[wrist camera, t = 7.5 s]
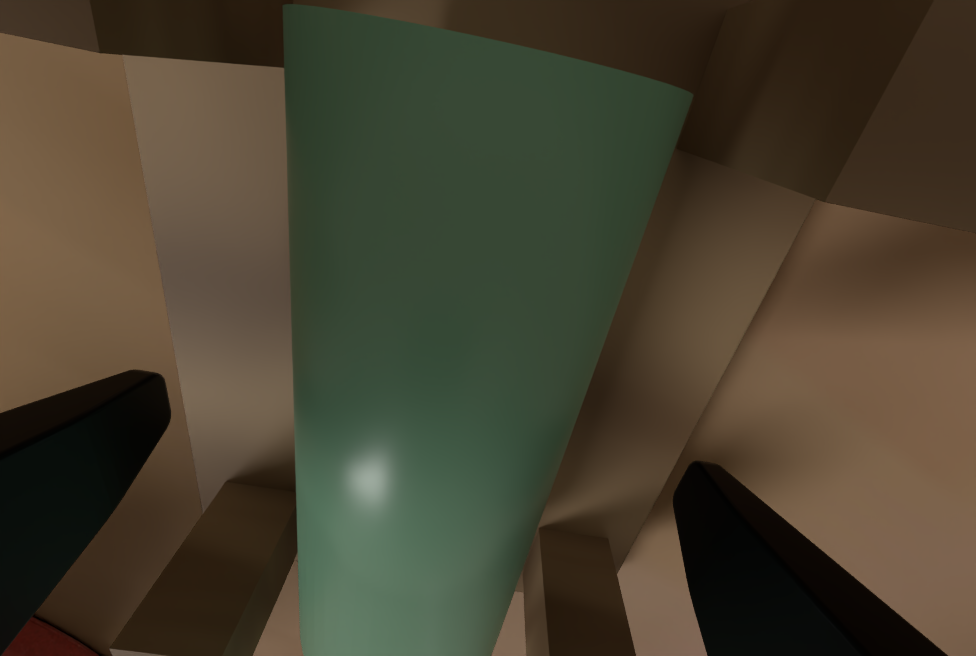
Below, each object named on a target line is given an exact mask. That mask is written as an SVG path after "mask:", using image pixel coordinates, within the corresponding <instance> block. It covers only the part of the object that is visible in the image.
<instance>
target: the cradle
mask: <svg viewBox="0 0 976 656" xmlns="http://www.w3.org/2000/svg"><path fill="white" fill-rule="evenodd" d="M285 4H298V5H308V6H317V7H324V8H331V9H338V10H344V11H350V12H356V13H362V14H368V15H373V16H379V17H384V18H390V19H395V20H401V21H406V22H411V23H416V24H421V25H426V26H431V27H436V28H441V29H446V30H451V31H455V32H460V33H465V34H470V35H475V36H479V37H484V38H488V39H493V40H497V41H502V42H506V43H511V44H515V45H520V46H524V47H528V48H533V49H537V50H541V51H546V52H550V53H554V54H558V55H562V56H567V57H571V58H575V59H579V60H583V61H587V62H591V63H595V64H599V65H603V66H606V67H610V68H614V69H618V70H622V71H625V72H629V73H633V74H636V75H640V76H643V77H647V78H650V79H654V80H657V81H660V82H664V83H667V84H670V85H673V86H675V87H678V88H681V89H684V90H686V91H688V92H690V93H692V94H693V99H692V102H691V104H690V107H689V110H688V113H687V115H686V118H685V121H684V124H683V126H682V129H681V132H680V135H679V138H678V140H677V143H676V146H675V149H674V151H673V154H672V157H671V160H670V162H669V165H668V168H667V171H666V173H665V176H664V179H663V182H662V185H661V187H660V190H659V193H658V196H657V198H656V201H655V204H654V207H653V209H652V212H651V215H650V218H649V221H648V223H647V226H646V229H645V232H644V234H643V237H642V240H641V243H640V245H639V248H638V251H637V254H636V257H635V259H634V262H633V265H632V268H631V270H630V273H629V276H628V279H627V281H626V284H625V287H624V290H623V293H622V295H621V298H620V301H619V304H618V306H617V309H616V312H615V315H614V317H613V320H612V323H611V326H610V328H609V331H608V334H607V337H606V340H605V342H604V345H603V348H602V351H601V353H600V356H599V359H598V362H597V364H596V367H595V370H594V373H593V376H592V378H591V381H590V384H589V387H588V389H587V392H586V395H585V398H584V400H583V403H582V406H581V409H580V412H579V414H578V417H577V420H576V423H575V425H574V428H573V431H572V434H571V436H570V439H569V442H568V445H567V448H566V450H565V453H564V456H563V459H562V461H561V464H560V467H559V470H558V472H557V475H556V478H555V481H554V483H553V486H552V489H551V492H550V495H549V497H548V500H547V503H546V506H545V508H544V511H543V514H542V517H541V519H540V522H539V525H538V528H537V531H536V533H535V536H534V539H533V542H532V544H531V547H530V550H529V553H528V555H527V558H526V561H525V564H524V567H523V569H522V572H521V575H520V578H519V580H518V583H517V586H516V589H515V591H517V592H524V612H525V635H526V656H636V654H635V649H634V645H633V641H632V637H631V632H630V628H629V624H628V620H627V615H626V611H625V607H624V603H623V599H622V594H621V590H620V586H619V582H618V577H617V573H618V571H619V570H620V568H621V566H622V564H623V562H624V560H625V558H626V556H627V554H628V553H629V551H630V549H631V547H632V545H633V543H634V541H635V539H636V537H637V536H638V534H639V532H640V530H641V528H642V526H643V524H644V522H645V521H646V519H647V517H648V515H649V513H650V511H651V509H652V507H653V505H654V504H655V502H656V500H657V498H658V496H659V494H660V492H661V490H662V488H663V487H664V485H665V483H666V481H667V479H668V477H669V475H670V473H671V472H672V470H673V468H674V466H675V464H676V462H677V460H678V458H679V456H680V455H681V453H682V451H683V449H684V447H685V445H686V443H687V441H688V439H689V438H690V436H691V434H692V432H693V430H694V428H695V426H696V424H697V423H698V421H699V419H700V417H701V415H702V413H703V411H704V409H705V407H706V406H707V404H708V402H709V400H710V398H711V396H712V394H713V392H714V391H715V389H716V387H717V385H718V383H719V381H720V379H721V377H722V375H723V374H724V372H725V370H726V368H727V366H728V364H729V362H730V360H731V358H732V357H733V355H734V353H735V351H736V349H737V347H738V345H739V343H740V342H741V340H742V338H743V336H744V334H745V332H746V330H747V328H748V326H749V325H750V323H751V321H752V319H753V317H754V315H755V313H756V311H757V309H758V308H759V306H760V304H761V302H762V300H763V298H764V296H765V294H766V293H767V291H768V289H769V287H770V285H771V283H772V281H773V279H774V277H775V276H776V274H777V272H778V270H779V268H780V266H781V264H782V262H783V260H784V259H785V257H786V255H787V253H788V251H789V249H790V247H791V245H792V244H793V242H794V240H795V238H796V236H797V234H798V232H799V230H800V228H801V227H802V225H803V223H804V221H805V219H806V217H807V215H808V213H809V212H810V210H811V208H812V206H813V204H814V202H815V200H816V199H817V200H820V201H823V202H827V203H831V204H836V205H841V206H846V207H851V208H856V209H861V210H866V211H870V212H875V213H880V214H885V215H890V216H895V217H900V218H904V219H909V220H914V221H919V222H924V223H929V224H934V225H938V226H943V227H948V228H953V229H958V230H963V231H968V232H972V233H976V0H0V33H5V34H10V35H15V36H20V37H25V38H29V39H34V40H39V41H44V42H49V43H54V44H59V45H63V46H68V47H73V48H78V49H83V50H88V51H93V52H97V53H106V54H119V55H122V56H123V61H124V67H125V73H126V79H127V84H128V90H129V96H130V101H131V107H132V113H133V118H134V124H135V130H136V136H137V141H138V147H139V153H140V158H141V164H142V170H143V175H144V181H145V187H146V193H147V198H148V204H149V210H150V215H151V221H152V227H153V232H154V238H155V244H156V250H157V255H158V261H159V267H160V272H161V278H162V284H163V289H164V295H165V301H166V307H167V312H168V318H169V324H170V329H171V335H172V341H173V346H174V352H175V358H176V364H177V369H178V375H179V381H180V386H181V392H182V398H183V403H184V409H185V415H186V421H187V426H188V432H189V438H190V443H191V449H192V455H193V460H194V466H195V472H196V478H197V483H198V489H199V495H200V500H201V506H202V512H203V515H202V516H201V518H200V519H199V520H198V522H197V523H196V525H195V526H194V528H193V529H192V530H191V532H190V533H189V535H188V536H187V538H186V539H185V541H184V542H183V543H182V545H181V546H180V548H179V549H178V551H177V552H176V553H175V555H174V556H173V558H172V559H171V561H170V562H169V564H168V565H167V566H166V568H165V569H164V571H163V572H162V574H161V575H160V576H159V578H158V579H157V581H156V582H155V584H154V585H153V587H152V588H151V589H150V591H149V592H148V594H147V595H146V597H145V598H144V599H143V601H142V602H141V604H140V605H139V607H138V608H137V610H136V611H135V612H134V614H133V615H132V617H131V618H130V620H129V621H128V622H127V624H126V625H125V627H124V628H123V630H122V631H121V633H120V634H119V635H118V637H117V638H116V640H115V641H114V643H113V644H112V645H111V647H110V648H109V649H110V652H111V654H112V656H253V653H254V651H255V649H256V646H257V644H258V642H259V640H260V637H261V635H262V633H263V630H264V628H265V626H266V623H267V621H268V619H269V617H270V614H271V612H272V610H273V607H274V605H275V603H276V601H277V598H278V596H279V594H280V591H281V589H282V587H283V585H284V582H285V580H286V578H287V575H288V573H289V571H290V568H291V566H292V564H293V562H294V561H298V544H297V508H296V472H295V436H294V400H293V364H292V328H291V293H290V257H289V221H288V185H287V149H286V113H285V77H284V41H283V5H285Z"/></svg>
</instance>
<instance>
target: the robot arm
mask: <svg viewBox="0 0 976 656" xmlns="http://www.w3.org/2000/svg"><path fill="white" fill-rule="evenodd" d="M170 419H171V408H170V403H169V398H168V393H167V388H166V383H165V379H164V378H163V376H162V375H161V374H158V373H155V372H149V371H143V370H129V371H126V372H123V373H120V374H117V375H114V376H111V377H108V378H105V379H102V380H99V381H96V382H93V383H90V384H87V385H84V386H81V387H78V388H75V389H72V390H69V391H66V392H62V393H59V394H56V395H53V396H50V397H47V398H44V399H41V400H38V401H35V402H32V403H29V404H26V405H23V406H20V407H17V408H14V409H11V410H8V411H5V412H2V413H0V656H2V654H3V653H4V652H5V650H6V649H7V648H8V647H9V645H10V644H11V643H12V641H13V640H14V639H15V638H16V636H17V635H18V634H19V633H20V631H21V630H22V629H23V627H24V626H25V625H26V624H27V622H28V621H29V620H30V618H31V617H32V616H33V615H34V613H35V612H36V611H37V609H38V608H39V607H40V606H41V604H42V603H43V602H44V600H45V599H46V598H47V597H48V595H49V594H50V593H51V592H52V590H53V589H54V588H55V586H56V585H57V584H58V583H59V581H60V580H61V579H62V577H63V576H64V575H65V574H66V572H67V571H68V570H69V568H70V567H71V566H72V565H73V563H74V562H75V561H76V560H77V558H78V557H79V556H80V554H81V553H82V552H83V551H84V549H85V548H86V547H87V545H88V544H89V543H90V542H91V540H92V539H93V538H94V536H95V535H96V534H97V533H98V531H99V530H100V529H101V527H102V526H103V525H104V523H105V522H106V521H107V519H108V518H109V517H110V515H111V514H112V513H113V511H114V510H115V508H116V507H117V506H118V504H119V503H120V501H121V500H122V498H123V497H124V495H125V494H126V492H127V490H128V489H129V487H130V486H131V484H132V483H133V481H134V479H135V478H136V476H137V475H138V473H139V472H140V470H141V468H142V467H143V465H144V464H145V462H146V460H147V459H148V457H149V456H150V454H151V453H152V451H153V449H154V448H155V446H156V445H157V443H158V442H159V440H160V438H161V437H162V435H163V434H164V432H165V431H166V429H167V427H168V425H169V423H170ZM673 508H674V514H675V519H676V524H677V530H678V535H679V540H680V546H681V551H682V556H683V562H684V567H685V573H686V578H687V583H688V587H689V592H690V596H691V599H692V603H693V607H694V611H695V614H696V617H697V621H698V624H699V628H700V631H701V635H702V638H703V642H704V645H705V649H706V652H707V655H708V656H948V655H947V654H946V653H944V652H943V651H942V650H941V649H940V648H938V647H937V646H936V645H935V644H934V643H932V642H931V641H930V640H929V639H928V638H926V637H925V636H924V635H923V634H922V633H920V632H919V631H918V630H917V629H916V628H914V627H913V626H912V625H911V624H910V623H908V622H907V621H906V620H905V619H904V618H902V617H901V616H900V615H899V614H898V613H896V612H895V611H894V610H893V609H891V608H890V607H889V606H888V605H887V604H885V603H884V602H883V601H882V600H881V599H879V598H878V597H877V596H876V595H875V594H873V593H872V592H871V591H870V590H869V589H867V588H866V587H865V586H864V585H863V584H861V583H860V582H859V581H858V580H857V579H855V578H854V577H853V576H852V575H851V574H849V573H848V572H847V571H846V570H845V569H843V568H842V567H841V566H840V565H839V564H837V563H836V562H835V561H834V560H833V559H831V558H830V557H829V556H828V555H827V554H825V553H824V552H823V551H822V550H821V549H819V548H818V547H817V546H816V545H815V544H813V543H812V542H811V541H810V540H809V539H807V538H806V537H805V536H804V535H803V534H801V533H800V532H799V531H798V530H797V529H795V528H794V527H793V526H792V525H791V524H789V523H788V522H787V521H786V520H785V519H783V518H782V517H781V516H780V515H779V514H777V513H776V512H775V511H774V510H773V509H771V508H770V507H769V506H768V505H767V504H765V503H764V502H763V501H762V500H761V499H759V498H758V497H757V496H756V495H755V494H753V493H752V492H751V491H750V490H749V489H747V488H746V487H745V486H744V485H743V484H741V483H740V482H739V481H738V480H737V479H735V478H734V477H733V476H732V475H731V474H729V473H728V472H727V471H726V470H725V469H723V468H722V467H721V466H720V465H718V464H715V463H710V462H703V461H693V462H692V463H691V464H690V465H689V466H688V468H687V470H686V472H685V474H684V475H683V477H682V479H681V481H680V483H679V484H678V486H677V488H676V490H675V492H674V496H673Z"/></svg>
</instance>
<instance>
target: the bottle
mask: <svg viewBox="0 0 976 656" xmlns="http://www.w3.org/2000/svg"><path fill="white" fill-rule="evenodd" d="M283 41H284V77H285V113H286V149H287V185H288V221H289V257H290V293H291V328H292V364H293V400H294V436H295V472H296V508H297V544H298V579H299V615H300V639H301V645H302V650H303V654H304V656H491V654H492V652H493V649H494V647H495V644H496V641H497V638H498V636H499V633H500V630H501V627H502V625H503V622H504V619H505V616H506V614H507V611H508V608H509V605H510V603H511V600H512V597H513V594H514V591H515V589H516V586H517V583H518V580H519V578H520V575H521V572H522V569H523V567H524V564H525V561H526V558H527V555H528V553H529V550H530V547H531V544H532V542H533V539H534V536H535V533H536V531H537V528H538V525H539V522H540V519H541V517H542V514H543V511H544V508H545V506H546V503H547V500H548V497H549V495H550V492H551V489H552V486H553V483H554V481H555V478H556V475H557V472H558V470H559V467H560V464H561V461H562V459H563V456H564V453H565V450H566V448H567V445H568V442H569V439H570V436H571V434H572V431H573V428H574V425H575V423H576V420H577V417H578V414H579V412H580V409H581V406H582V403H583V400H584V398H585V395H586V392H587V389H588V387H589V384H590V381H591V378H592V376H593V373H594V370H595V367H596V364H597V362H598V359H599V356H600V353H601V351H602V348H603V345H604V342H605V340H606V337H607V334H608V331H609V328H610V326H611V323H612V320H613V317H614V315H615V312H616V309H617V306H618V304H619V301H620V298H621V295H622V293H623V290H624V287H625V284H626V281H627V279H628V276H629V273H630V270H631V268H632V265H633V262H634V259H635V257H636V254H637V251H638V248H639V245H640V243H641V240H642V237H643V234H644V232H645V229H646V226H647V223H648V221H649V218H650V215H651V212H652V209H653V207H654V204H655V201H656V198H657V196H658V193H659V190H660V187H661V185H662V182H663V179H664V176H665V173H666V171H667V168H668V165H669V162H670V160H671V157H672V154H673V151H674V149H675V146H676V143H677V140H678V138H679V135H680V132H681V129H682V126H683V124H684V121H685V118H686V115H687V113H688V110H689V107H690V104H691V102H692V99H693V94H692V93H690V92H688V91H686V90H684V89H681V88H678V87H675V86H673V85H670V84H667V83H664V82H660V81H657V80H654V79H650V78H647V77H643V76H640V75H636V74H633V73H629V72H625V71H622V70H618V69H614V68H610V67H606V66H603V65H599V64H595V63H591V62H587V61H583V60H579V59H575V58H571V57H567V56H562V55H558V54H554V53H550V52H546V51H541V50H537V49H533V48H528V47H524V46H520V45H515V44H511V43H506V42H502V41H497V40H493V39H488V38H484V37H479V36H475V35H470V34H465V33H460V32H455V31H451V30H446V29H441V28H436V27H431V26H426V25H421V24H416V23H411V22H406V21H401V20H395V19H390V18H384V17H379V16H373V15H368V14H362V13H356V12H350V11H344V10H338V9H331V8H324V7H317V6H308V5H298V4H285V5H283Z"/></svg>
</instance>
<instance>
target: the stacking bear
mask: <svg viewBox="0 0 976 656" xmlns="http://www.w3.org/2000/svg"><path fill="white" fill-rule="evenodd" d="M2 656H99V655H98V654H97V653H95V652H94V651H92V650H91V649H89V648H88V647H86V646H85V645H83V644H82V643H80V642H79V641H77V640H75V639H74V638H72V637H70V636H68V635H67V634H65V633H63V632H61V631H60V630H58V629H56V628H54V627H53V626H51V625H49V624H47V623H45V622H43V621H40V620H38V619H36V618H34V617H31V618H30V620H29V621H28V622H27V624H26V625H25V626H24V627H23V629H22V630H21V631H20V633H19V634H18V635H17V636H16V638H15V639H14V640H13V641H12V643H11V644H10V645H9V647H8V648H7V649H6V650H5V652H4V653H3V654H2Z"/></svg>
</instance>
